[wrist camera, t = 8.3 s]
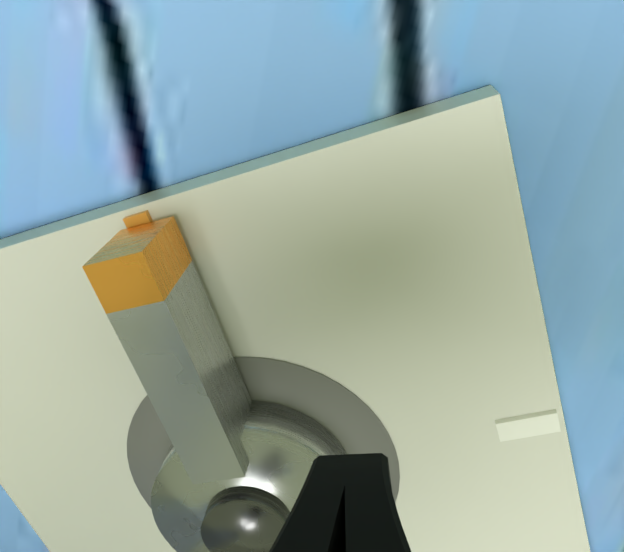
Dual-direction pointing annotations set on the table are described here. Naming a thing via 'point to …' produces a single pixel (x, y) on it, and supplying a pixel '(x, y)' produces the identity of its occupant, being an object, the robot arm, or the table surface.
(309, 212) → the panel
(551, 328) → the table surface
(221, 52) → the table surface
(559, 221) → the table surface
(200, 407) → the dial
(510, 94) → the table surface
